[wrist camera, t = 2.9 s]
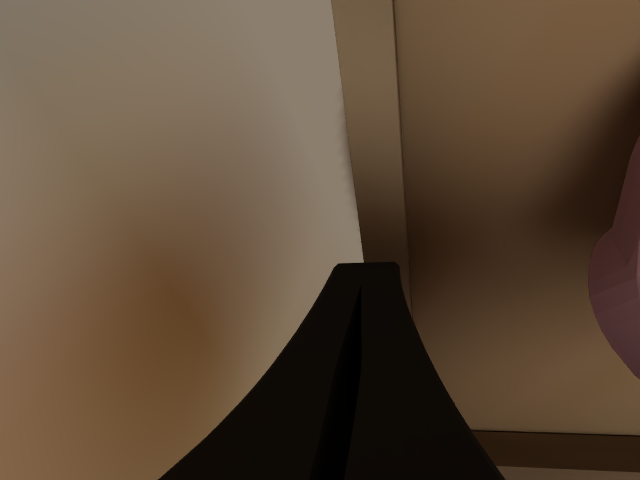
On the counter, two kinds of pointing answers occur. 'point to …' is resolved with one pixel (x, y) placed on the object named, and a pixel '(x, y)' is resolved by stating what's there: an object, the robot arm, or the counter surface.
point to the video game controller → (620, 272)
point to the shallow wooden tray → (392, 235)
